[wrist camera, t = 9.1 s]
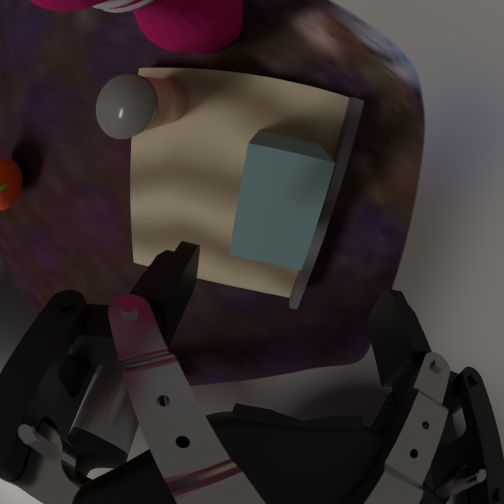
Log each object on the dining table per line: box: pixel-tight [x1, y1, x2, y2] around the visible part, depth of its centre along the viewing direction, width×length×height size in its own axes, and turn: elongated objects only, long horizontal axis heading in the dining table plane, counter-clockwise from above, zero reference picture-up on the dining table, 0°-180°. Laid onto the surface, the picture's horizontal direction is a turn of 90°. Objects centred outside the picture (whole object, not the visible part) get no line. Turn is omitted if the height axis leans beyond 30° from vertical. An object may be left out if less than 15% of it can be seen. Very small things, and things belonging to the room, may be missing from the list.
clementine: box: [0, 158, 23, 210], centre depth 22 cm, size 8×7×7 cm
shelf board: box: [131, 68, 364, 309], centre depth 23 cm, size 20×18×3 cm
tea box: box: [229, 130, 335, 270], centre depth 19 cm, size 5×7×7 cm
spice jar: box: [96, 74, 189, 139], centre depth 16 cm, size 4×4×7 cm
